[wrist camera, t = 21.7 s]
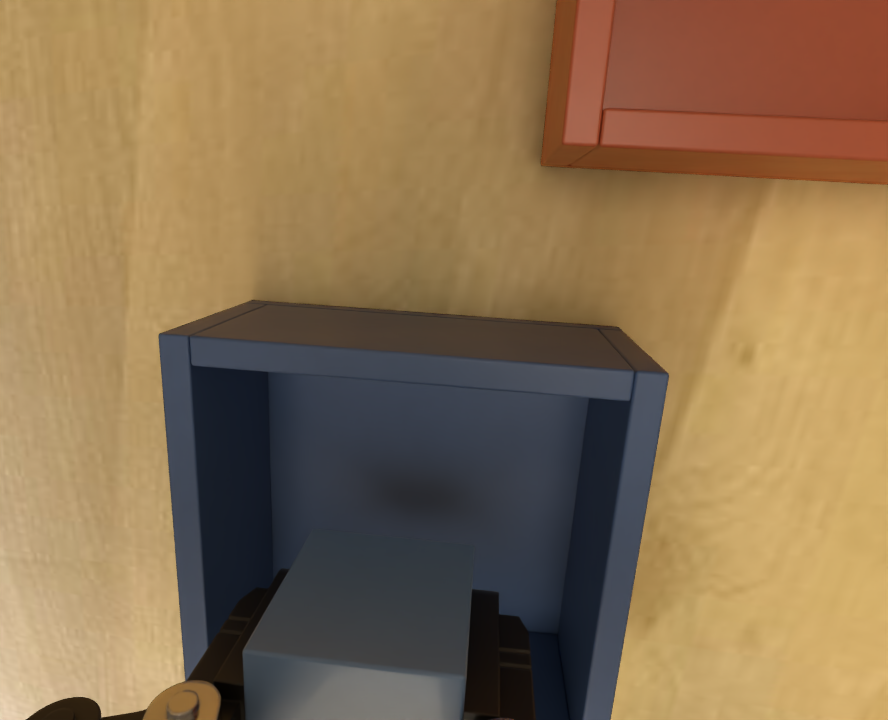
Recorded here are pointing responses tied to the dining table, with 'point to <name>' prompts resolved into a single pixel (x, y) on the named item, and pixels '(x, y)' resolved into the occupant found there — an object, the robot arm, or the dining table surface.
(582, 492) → the blue bin
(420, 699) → the blue block
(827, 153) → the terracotta bin
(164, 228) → the dining table surface
